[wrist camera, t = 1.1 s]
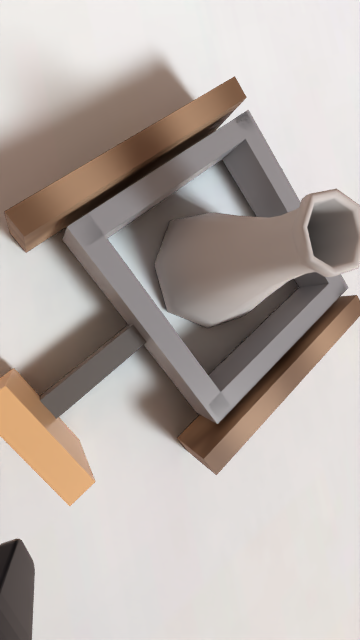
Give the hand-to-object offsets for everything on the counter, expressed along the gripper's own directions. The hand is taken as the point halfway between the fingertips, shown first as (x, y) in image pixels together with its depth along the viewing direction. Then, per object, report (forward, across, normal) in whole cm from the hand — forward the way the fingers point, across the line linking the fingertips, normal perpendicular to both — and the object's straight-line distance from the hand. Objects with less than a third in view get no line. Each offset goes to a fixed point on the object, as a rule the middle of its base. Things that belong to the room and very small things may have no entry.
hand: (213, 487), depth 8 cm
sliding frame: (+13, -1, 0) cm, 13 cm away
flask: (+15, -4, -1) cm, 15 cm away
